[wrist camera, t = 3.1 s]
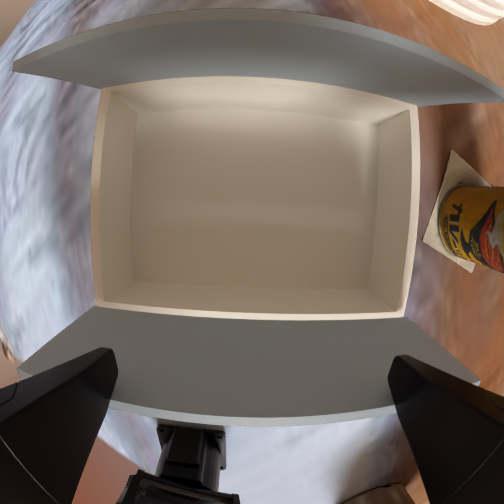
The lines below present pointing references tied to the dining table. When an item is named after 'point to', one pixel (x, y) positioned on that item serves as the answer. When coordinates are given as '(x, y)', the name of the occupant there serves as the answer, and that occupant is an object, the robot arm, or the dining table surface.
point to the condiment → (468, 218)
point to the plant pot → (383, 496)
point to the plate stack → (474, 9)
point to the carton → (254, 199)
